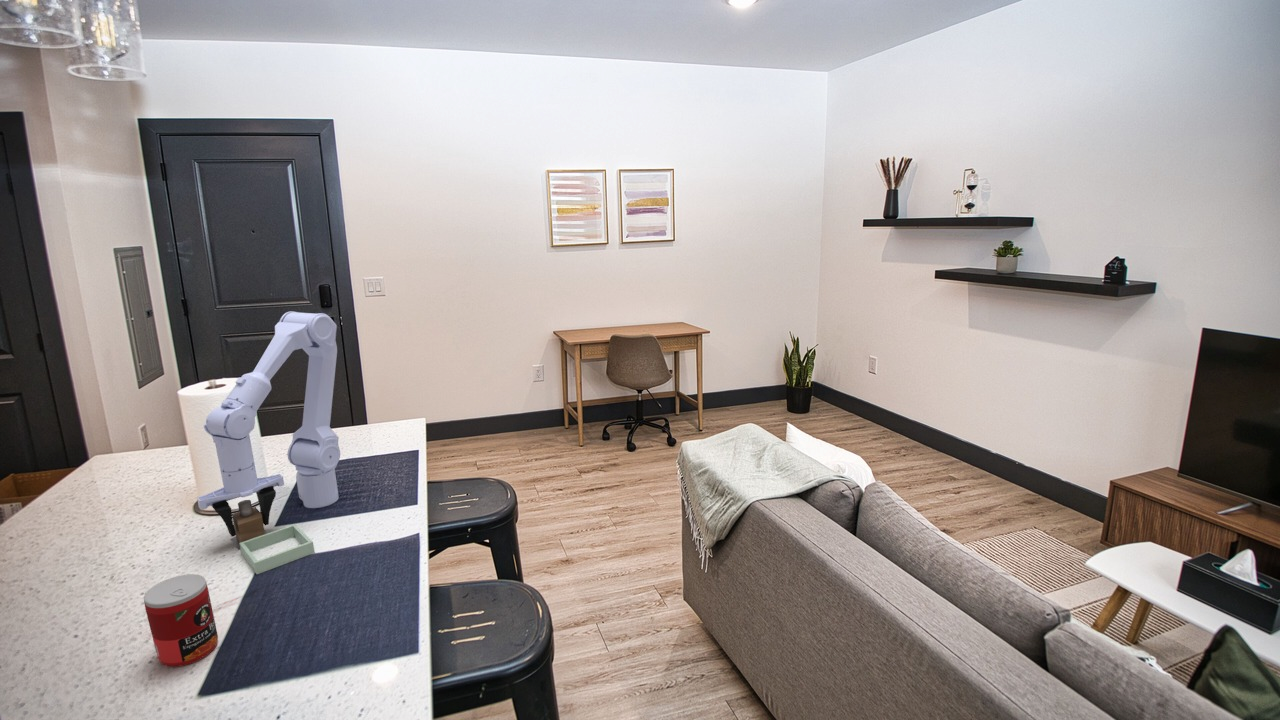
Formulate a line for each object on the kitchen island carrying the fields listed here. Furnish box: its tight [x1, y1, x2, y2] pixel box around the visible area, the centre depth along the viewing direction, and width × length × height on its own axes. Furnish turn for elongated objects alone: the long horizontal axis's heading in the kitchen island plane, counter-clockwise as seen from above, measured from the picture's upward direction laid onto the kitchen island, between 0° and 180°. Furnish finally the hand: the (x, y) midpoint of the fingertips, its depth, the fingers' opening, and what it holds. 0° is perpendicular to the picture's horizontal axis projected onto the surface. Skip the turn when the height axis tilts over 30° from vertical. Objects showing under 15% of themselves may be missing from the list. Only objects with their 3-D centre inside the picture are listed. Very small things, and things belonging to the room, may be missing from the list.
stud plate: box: [229, 528, 268, 551], centre depth 126 cm, size 6×6×5 cm
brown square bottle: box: [232, 499, 266, 543], centre depth 126 cm, size 4×4×8 cm
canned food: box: [143, 573, 219, 668], centre depth 96 cm, size 8×8×11 cm
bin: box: [239, 523, 315, 575], centre depth 121 cm, size 10×10×4 cm
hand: (249, 528), depth 126 cm, fingers open, 5 cm apart
